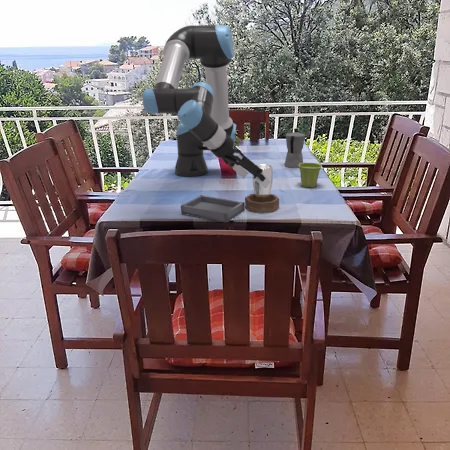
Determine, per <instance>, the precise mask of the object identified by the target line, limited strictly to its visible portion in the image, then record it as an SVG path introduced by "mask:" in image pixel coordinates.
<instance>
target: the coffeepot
mask: <svg viewBox="0 0 450 450" xmlns="http://www.w3.org/2000/svg"><path fill="white" fill-rule="evenodd" d="M305 140H306V134H305V133H301V132H298V128H293V132H290V133H285V142H286V143H285V144H286V149H287V152H286V156H285V160H284V166H285V167H286V168H289V169H300V168H299V166H298V165H299V164H300V163H304V159H303V153H302V152H303V149H304V144H305Z"/></svg>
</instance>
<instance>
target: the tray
mask: <svg viewBox="0 0 450 450" xmlns="http://www.w3.org/2000/svg"><path fill="white" fill-rule="evenodd" d="M241 212H242V213H243V212H245V201H244V202H243V201H237V200H232V199H226V198H221V197H220V198H219V197H215V196H209V195H202V194H200V195H198V196H197V197H195V198H192V199H191V200H189V201H187V202H185V203H183V204H181V205H180V214H181V213H182V214H181V215H185V214H189V215H188V216H190V215H193V216H192V217H195V216H198V217H197V218H200V217H203V218H202V219H205V218H207V220H210V219H212V220H211V221H216V222H221V223H228V222H230V221H231V220H233V219H234V218H236V217H237V216H239V215H240V214H241ZM238 214H239V215H238ZM235 216H236V217H235ZM232 218H233V219H232Z"/></svg>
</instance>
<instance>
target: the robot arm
mask: <svg viewBox="0 0 450 450" xmlns="http://www.w3.org/2000/svg"><path fill="white" fill-rule="evenodd" d="M163 55H164V56H163V59H162V62H161V65H160V68H159V72H158V75H157V77H156V80H155V83H154V87H153V88H152V87H151V88H145V89H144V90H143V93H142V105H143V106H142V107H143V109H144V111H145V112H146V113H149V114H157V115H158V114H177V119H178V121H180V123H179V124H178V125H177V126H176V133H175V134H176V142H177V143H176V144H177V145H176V146H177V160H176V163H175V166H174V174H175V175H176V176H180V177H193V178H194V177H200V176H203V175H206V174H208V173H209V172H208V170H209V169H208V168H209V167H208V165H207V161H206V159H205V156H204V151H210V153H212V154H213V155H214V156H215V157H216V158H221V159H222V160H223V162H224V164H225V165H228V166H229V167H231V169H232V170H233V171H235V172H236V174H238V175H239V177H240V178H241V179H243V180H244V179H245V178H247V176H248V175H249V173H250V174H251V175H252V179H253V178H254V179H256V180H257V181H258V182H259V183H260V184H261V185H262V186H263V187H264V188H267V187H268V185H269V184H270V183H271V182H270V181H269V180H268V179H267V177H266V176H265V175H264V174H263V173H262V171H263V170H262V169H260V168H259V167H258V166H257V165H258V164H256V163H254V162H253V161H252V160H251V159H249V158H248V157H247V156H246V155H244V154H243V152H242V151H240V150H237V148H235V143H236V141H235V139H236V133H237V131H236V130H237V124H236V123H233V119H232V117H230V106H229V91H228V90H229V89H228V71H227V70H228V69H227V66H228V65H230V63H231V59H233V58H234V56H235V50H234V40H233V34H232V31H231V29H230V27H229V26H228V25H227V24H223V25H222V24H210V25H209V24H208V25H204V24H202V25H200V24H199V25H186V26H183V27H181V28H179V29H177V30H176V31H174V32H173V33H172V34H171V35H170V36H169V37H168V39H167V40H166V42H165V44H164V47H163ZM188 60H200V65H201V66H202V67H204V72H205V75H204V76H205V82H204V81H199V82H196V83H193V85H192V87H191V88H179V84H180V81H181V77H182V74H183V70H184V66H185V64H186V63H187V62H188ZM253 175H254V176H253Z"/></svg>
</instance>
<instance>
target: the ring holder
mask: <svg viewBox="0 0 450 450" xmlns="http://www.w3.org/2000/svg"><path fill="white" fill-rule="evenodd" d="M244 208H246V209H247V210H248V212H252V211H254V212H253V213H258V212H259V214H265V213H264V212H267V213H272V212H271V211H274V212H276V211H277V210H278V209H279V208H280V198H279V197H278V196H277V195H276V194H273V193H270V202H262V203H261V202H255V194H254V193H250V194H248V195H247V196H246V197H245V198H244ZM276 209H277V210H276Z"/></svg>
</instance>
